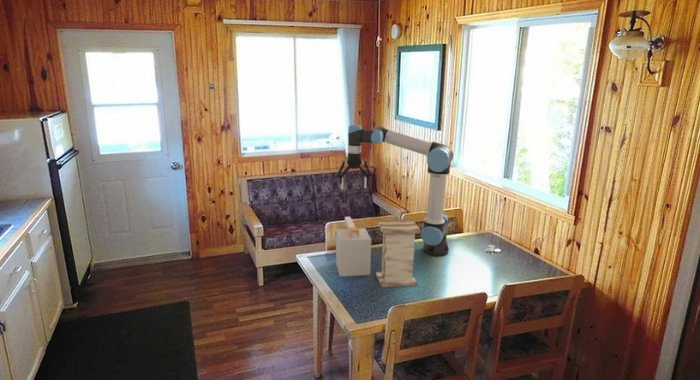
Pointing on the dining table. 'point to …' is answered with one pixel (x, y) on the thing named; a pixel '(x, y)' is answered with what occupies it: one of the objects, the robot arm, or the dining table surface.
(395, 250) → the parchment scroll
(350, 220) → the plug bar
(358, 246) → the tall block
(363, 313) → the dining table surface
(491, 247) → the teacup and saucer
